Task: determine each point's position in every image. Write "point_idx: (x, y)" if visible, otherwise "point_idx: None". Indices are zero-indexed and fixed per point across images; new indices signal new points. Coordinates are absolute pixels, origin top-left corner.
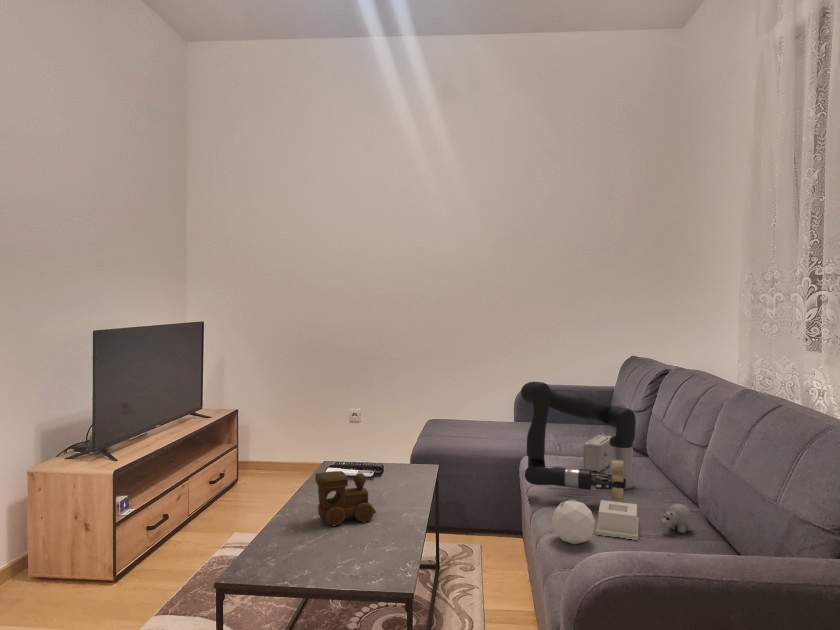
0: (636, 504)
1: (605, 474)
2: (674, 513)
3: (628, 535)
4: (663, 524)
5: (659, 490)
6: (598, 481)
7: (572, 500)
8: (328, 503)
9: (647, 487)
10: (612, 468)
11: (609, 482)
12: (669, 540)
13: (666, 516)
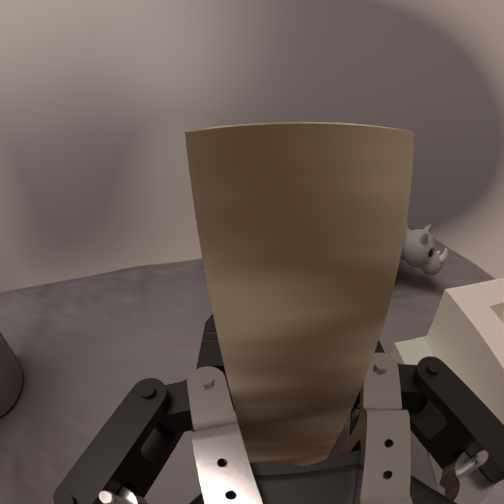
0: (447, 289)
1: (114, 455)
2: (410, 230)
3: None
4: (441, 266)
5: (53, 308)
6: (444, 496)
7: None
8: None
9: (27, 327)
10: (397, 238)
11: (441, 376)
12: (449, 280)
13: (434, 244)
